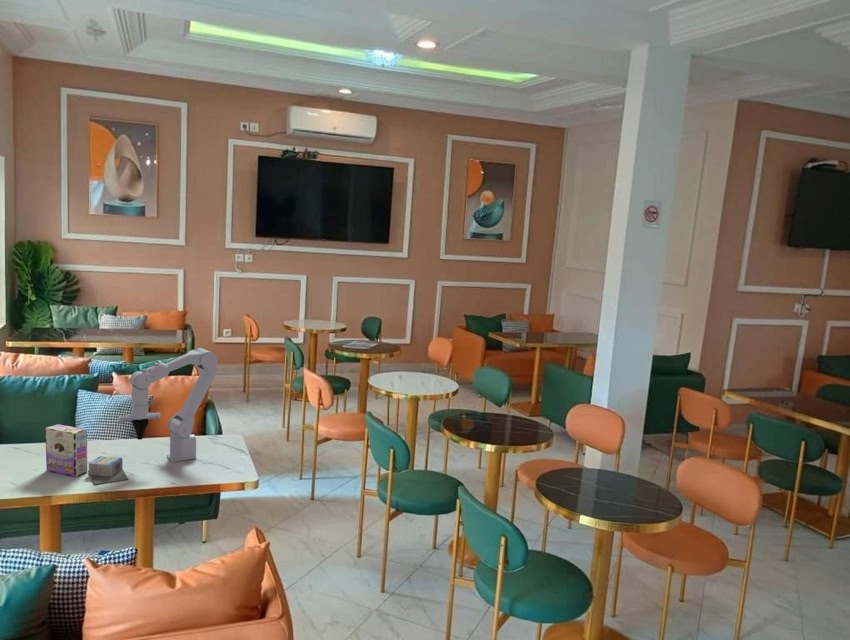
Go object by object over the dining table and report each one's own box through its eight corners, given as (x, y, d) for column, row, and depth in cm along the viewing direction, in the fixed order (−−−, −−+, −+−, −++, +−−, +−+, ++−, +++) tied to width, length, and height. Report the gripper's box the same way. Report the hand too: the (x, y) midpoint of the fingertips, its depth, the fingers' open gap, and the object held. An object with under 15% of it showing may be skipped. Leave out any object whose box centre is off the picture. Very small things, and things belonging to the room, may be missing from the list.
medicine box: (112, 465, 234) (88, 463, 234) (112, 476, 235) (88, 475, 235) (122, 457, 242) (99, 455, 242) (122, 469, 242) (99, 467, 242)
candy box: (88, 472, 238) (87, 428, 236) (74, 478, 233) (74, 433, 230) (59, 466, 242) (58, 423, 240) (45, 471, 237) (44, 427, 235)
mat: (120, 467, 245) (120, 466, 245) (128, 479, 234) (128, 478, 234) (88, 471, 239) (88, 470, 239) (94, 485, 227) (94, 484, 227)
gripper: (158, 399, 252) (157, 433, 254) (116, 402, 244) (116, 438, 245) (162, 403, 246) (161, 438, 248) (120, 407, 238) (120, 443, 240)
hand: (139, 438), depth 246 cm, fingers closed
